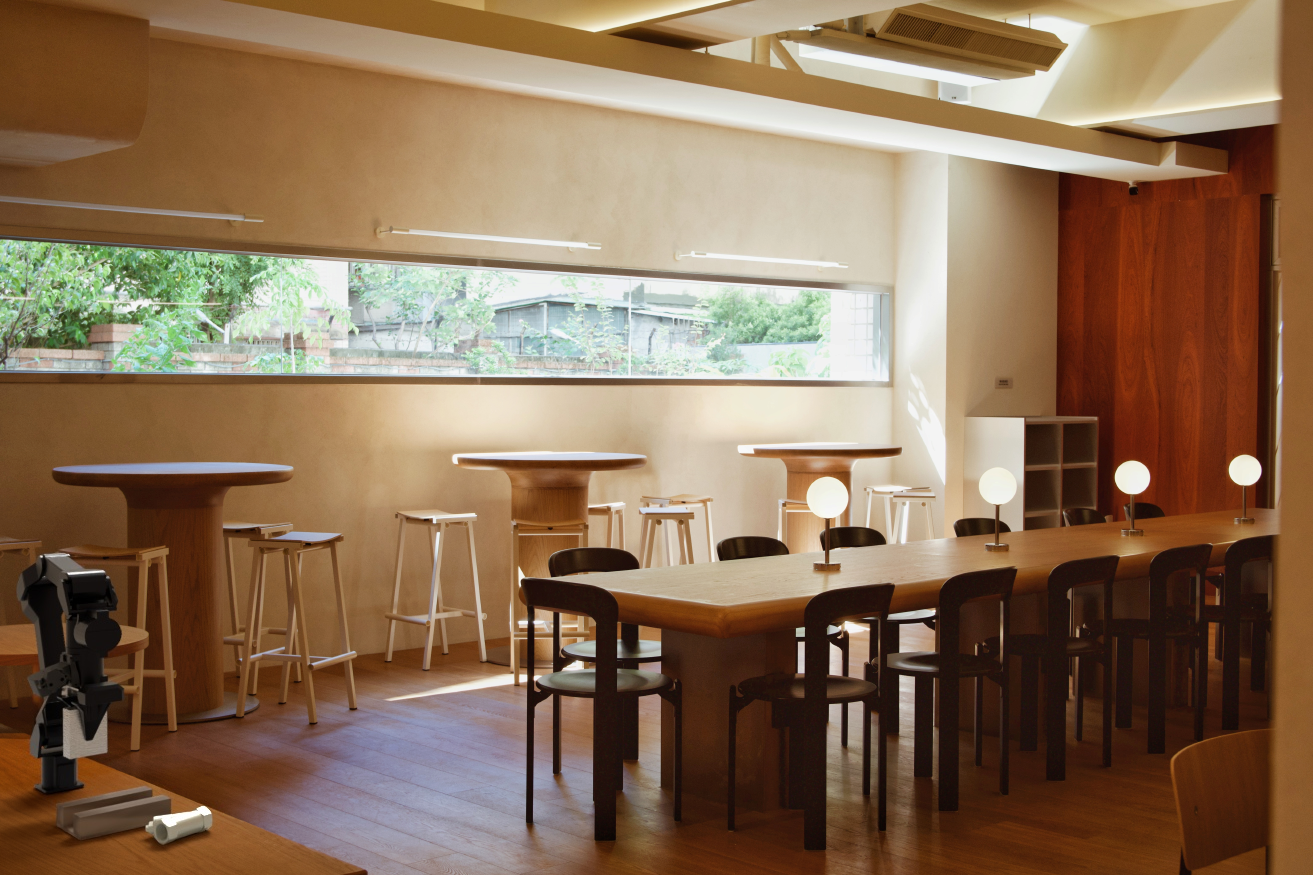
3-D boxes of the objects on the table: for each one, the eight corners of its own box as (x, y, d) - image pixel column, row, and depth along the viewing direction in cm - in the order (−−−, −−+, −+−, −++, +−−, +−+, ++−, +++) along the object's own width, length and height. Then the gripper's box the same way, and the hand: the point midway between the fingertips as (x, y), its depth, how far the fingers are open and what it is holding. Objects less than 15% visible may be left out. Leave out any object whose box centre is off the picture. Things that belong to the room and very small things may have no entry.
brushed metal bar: (63, 755, 201) (63, 707, 202) (100, 749, 206) (100, 702, 206) (69, 758, 199) (69, 710, 199) (107, 752, 204) (107, 704, 204)
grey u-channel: (56, 825, 192) (56, 803, 192) (145, 806, 202) (145, 785, 202) (80, 840, 185) (80, 817, 185) (171, 819, 195) (171, 798, 195)
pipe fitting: (140, 842, 186) (169, 846, 182) (139, 816, 186) (167, 820, 182) (184, 828, 192) (213, 831, 189) (183, 803, 193) (211, 806, 189)
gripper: (14, 645, 204) (15, 738, 203) (53, 658, 190) (53, 757, 190) (83, 637, 211) (84, 726, 211) (125, 649, 198) (125, 744, 198)
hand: (85, 738), depth 203 cm, fingers closed on brushed metal bar, 3 cm apart
